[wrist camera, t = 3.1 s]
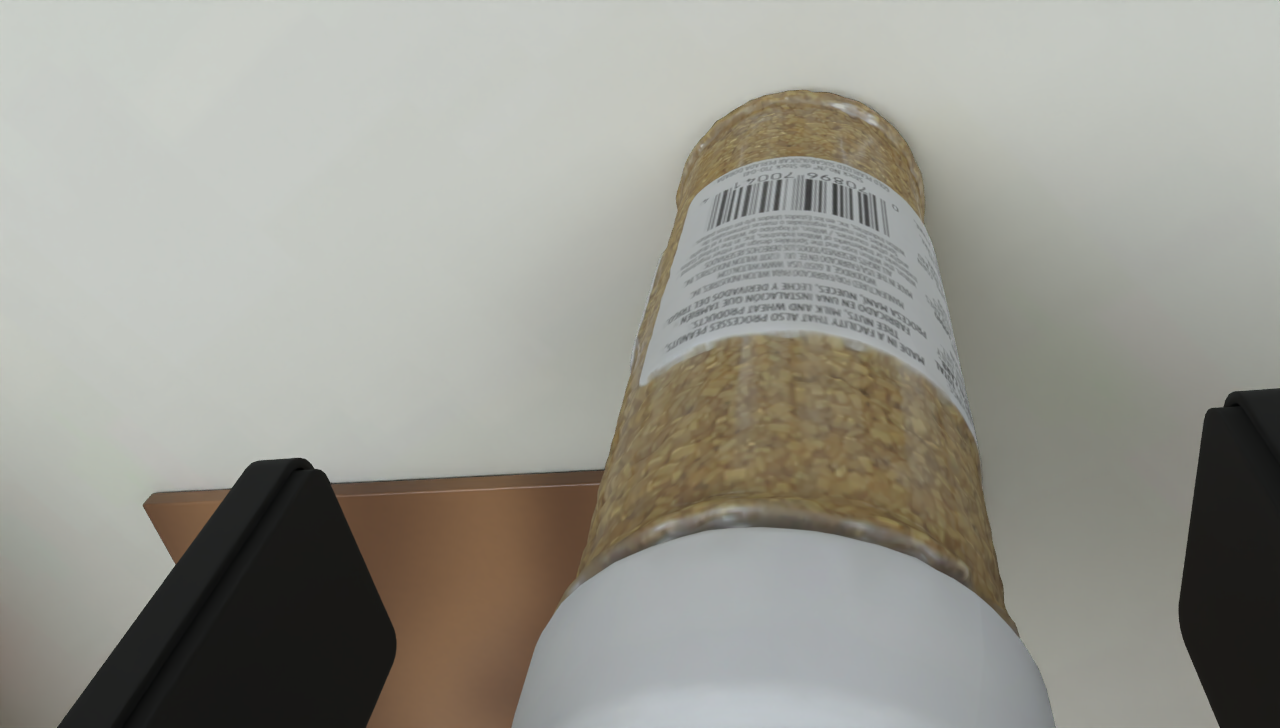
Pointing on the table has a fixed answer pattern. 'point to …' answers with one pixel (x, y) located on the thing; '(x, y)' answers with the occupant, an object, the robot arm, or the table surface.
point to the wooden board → (448, 580)
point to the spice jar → (791, 464)
